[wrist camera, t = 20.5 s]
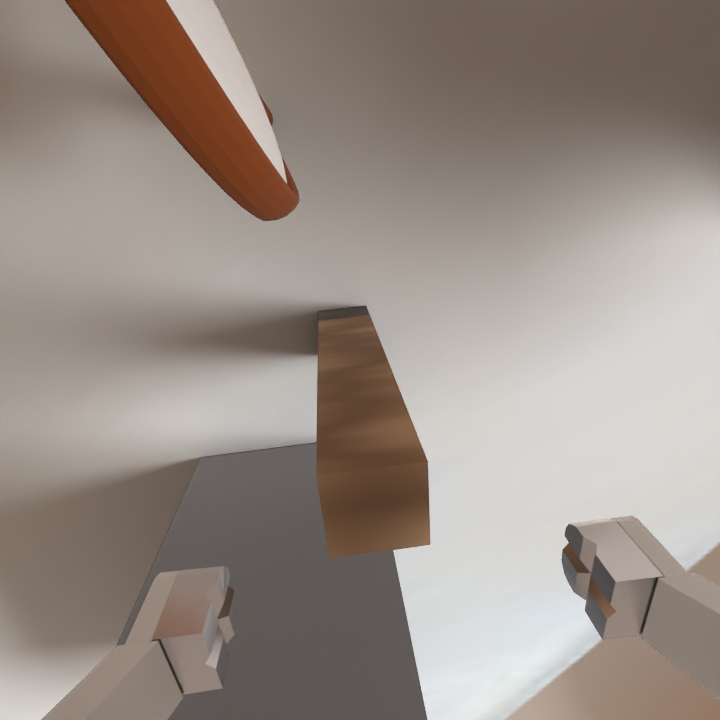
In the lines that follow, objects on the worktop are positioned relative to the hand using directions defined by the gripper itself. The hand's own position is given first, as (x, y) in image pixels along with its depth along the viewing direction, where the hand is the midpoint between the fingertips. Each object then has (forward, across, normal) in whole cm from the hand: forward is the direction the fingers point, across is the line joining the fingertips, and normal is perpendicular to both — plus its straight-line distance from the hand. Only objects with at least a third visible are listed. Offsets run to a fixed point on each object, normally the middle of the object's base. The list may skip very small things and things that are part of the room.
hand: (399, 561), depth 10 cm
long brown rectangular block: (+18, +1, 0) cm, 18 cm away
